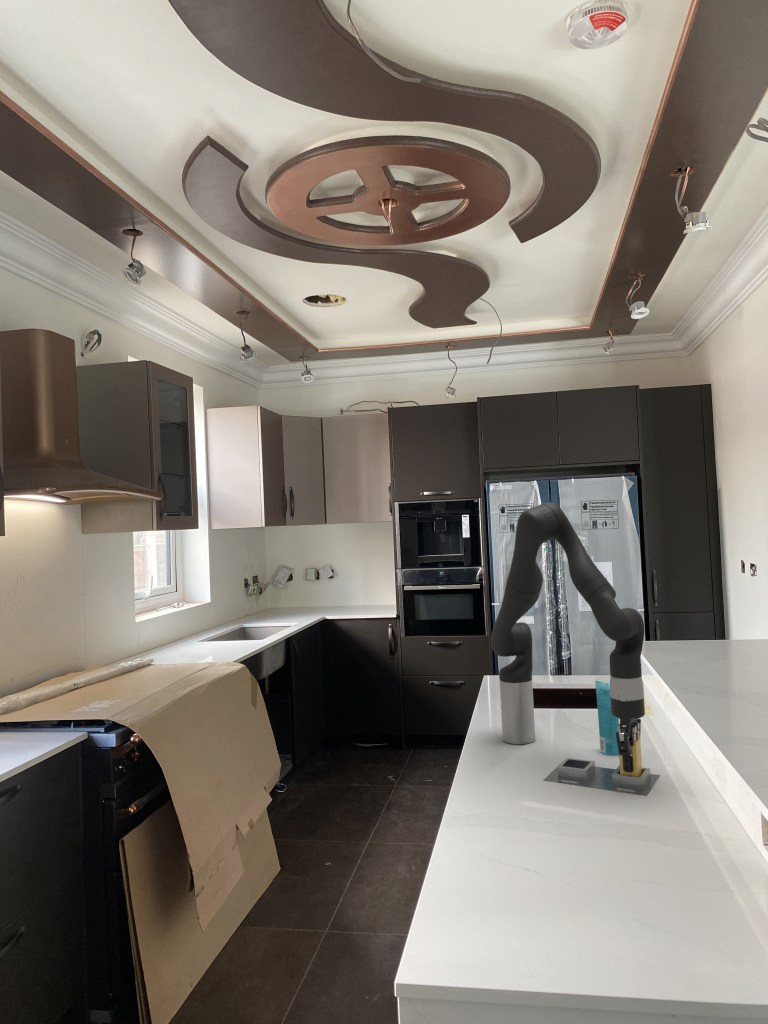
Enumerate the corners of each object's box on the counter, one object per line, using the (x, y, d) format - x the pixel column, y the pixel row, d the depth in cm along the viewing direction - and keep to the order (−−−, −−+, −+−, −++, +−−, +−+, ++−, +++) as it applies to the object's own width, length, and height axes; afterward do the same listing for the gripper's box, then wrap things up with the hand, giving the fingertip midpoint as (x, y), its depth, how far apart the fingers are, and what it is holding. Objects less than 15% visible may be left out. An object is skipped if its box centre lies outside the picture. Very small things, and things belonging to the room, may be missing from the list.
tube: (628, 757, 194) (624, 683, 194) (617, 761, 191) (613, 686, 191) (603, 750, 200) (599, 679, 200) (592, 755, 197) (588, 682, 197)
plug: (625, 778, 177) (622, 732, 177) (642, 780, 175) (640, 734, 175) (620, 783, 174) (618, 737, 174) (638, 786, 172) (635, 739, 172)
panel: (562, 765, 190) (561, 752, 190) (660, 779, 178) (659, 764, 178) (543, 784, 178) (542, 769, 178) (647, 800, 166) (646, 784, 166)
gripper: (618, 686, 182) (622, 757, 182) (602, 701, 170) (606, 776, 170) (650, 689, 178) (654, 761, 178) (636, 703, 166) (640, 781, 166)
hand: (630, 768), depth 174 cm, fingers closed on plug, 4 cm apart
